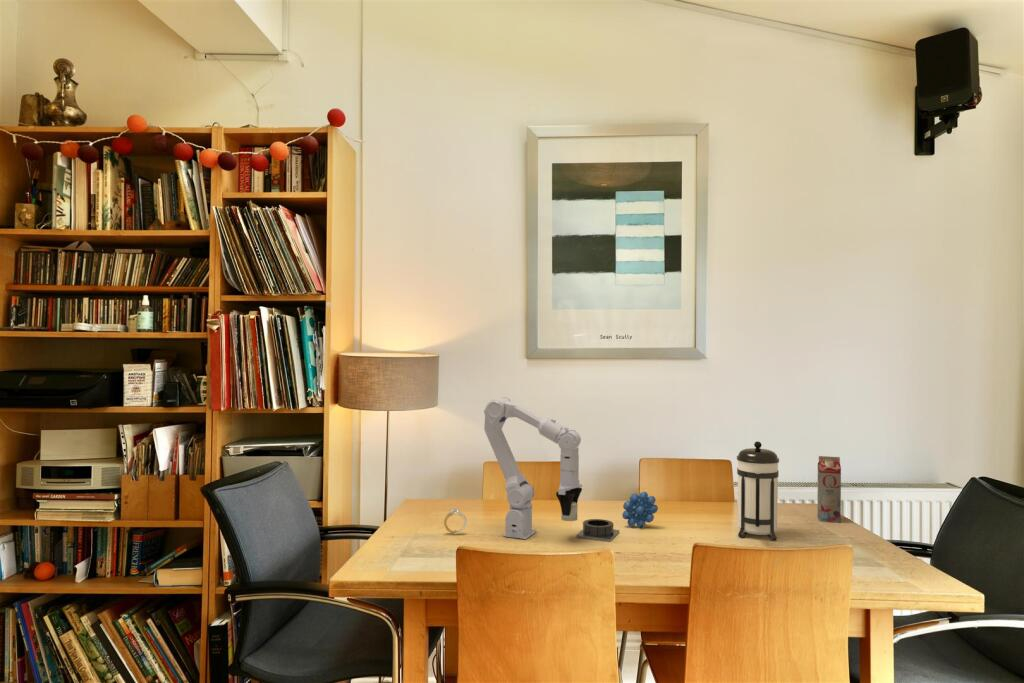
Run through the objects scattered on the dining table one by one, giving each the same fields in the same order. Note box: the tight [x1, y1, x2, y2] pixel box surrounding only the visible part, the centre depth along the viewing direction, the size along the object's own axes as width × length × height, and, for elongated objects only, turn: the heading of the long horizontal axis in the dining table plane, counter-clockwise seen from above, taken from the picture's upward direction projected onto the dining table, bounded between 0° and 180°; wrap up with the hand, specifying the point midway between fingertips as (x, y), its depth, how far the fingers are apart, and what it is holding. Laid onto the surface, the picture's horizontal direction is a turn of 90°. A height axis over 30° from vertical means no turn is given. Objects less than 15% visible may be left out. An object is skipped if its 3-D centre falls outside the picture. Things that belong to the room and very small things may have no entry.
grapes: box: [621, 491, 659, 528], centre depth 227 cm, size 12×7×12 cm, turn 81°
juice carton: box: [816, 455, 842, 524], centre depth 236 cm, size 7×7×22 cm
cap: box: [560, 502, 578, 522], centre depth 212 cm, size 5×5×5 cm
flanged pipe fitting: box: [575, 518, 620, 543], centre depth 217 cm, size 11×11×4 cm
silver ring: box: [443, 508, 467, 535], centre depth 217 cm, size 7×3×8 cm, turn 84°
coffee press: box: [736, 440, 780, 542], centre depth 216 cm, size 17×16×30 cm
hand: (569, 513), depth 212 cm, fingers closed on cap, 5 cm apart
